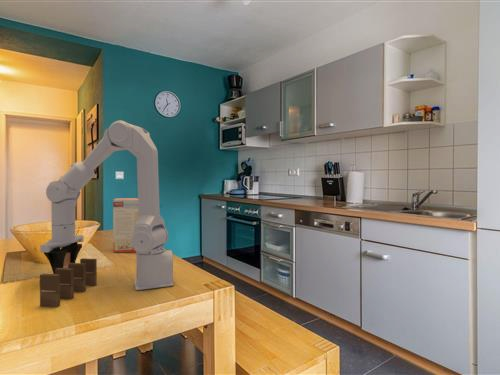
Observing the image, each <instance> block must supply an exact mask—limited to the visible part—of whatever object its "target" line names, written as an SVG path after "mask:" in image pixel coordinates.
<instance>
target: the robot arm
mask: <svg viewBox="0 0 500 375" xmlns="http://www.w3.org/2000/svg"><path fill="white" fill-rule="evenodd" d="M125 150H127V151H128V152H130V154H132V155H133V156H134V157H135V158H136V175H137V176H136V177H137V178H136V179H137V198H138V211H139V217H138V219H137V221H136V223H135V225H134V233H133V235H132V238H131V244H132V247H133V248H134V250H135V251H136V253H135V256H136V259H135V261H136V263H135V264H136V266H135V267H136V271H135V272H136V274H135V276H136V278H135V279H133V283H134V284H133V285H134V289H135V291H142V290H143V291H144V290H149V289H157V288H165V287H172V286H174V255H173V251H172V250H171V249H168V250H166V249H165V245H166V243H167V242H168V240H169V232H168V229H166V226H165V225H166V224H165V220H164V218H163V217H162V216H161V214H160V213H161V212H160V209H161V208H160V180H159V152H158V149H157V147H156V144H155V143H154V142H153V140H152V138H151V136H150V132H149V131H147V130H146V129H145V128H143V127H141V126H139V125H138V126H137V125H134V124H131V123H128V122H126V121H124V120H122V119H121V120H116V121H114V122H112V123H111V124H110V125H109V127H108V128H106V129H105V130H104V133H103V137H102V138H101V139H100V140H99V142H98V143H97V144H96V145H95V146H94V148H93V149H92V150H91V151H90V153H89V154H88V155H87V156H86V157H85V159H84V160H83V161H76V162H75V163H71V165H70V168H69V169H68V170H67V171H66V173H64V174H63V175H61V176H60V178H59V179H58V180H53V181H50V182H49V184H48V185H47V187H46V191H45V194H46V197H47V200H48V201H50V202H51V203H50V205H51V207H50V208H51V209H50V210H51V211H50V212H51V239H48V241H47V242H45V243H42V244H40V250H39V252H40V253H43V255H44V256H45V257H46V259H47V261H48V262H49V264H50V267H51V270H52V274H55V269H57V268H63V264H64V259H65V255H66V253H70V263H77V262H76V261H77V258H78V256H79V253H80V251H81V250H82V248H83V244H82V243H83V242H84V237H85V236H84V234H82V235H81V234H76V206H77V204H78V203H77V202H78V199H79V198H80V196H81V190H83V188H84V187H85V186H86V185H87V184H88V183H89V182H90V181H91V180H92V179H93V177H95V169H96V168H98V167H99V166H100V165H101V164H102V163H103V162H104V161H106V159H108V158H109V157H110V156H111V155H112V154H113V153H114V152H118V151H125Z"/></svg>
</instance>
